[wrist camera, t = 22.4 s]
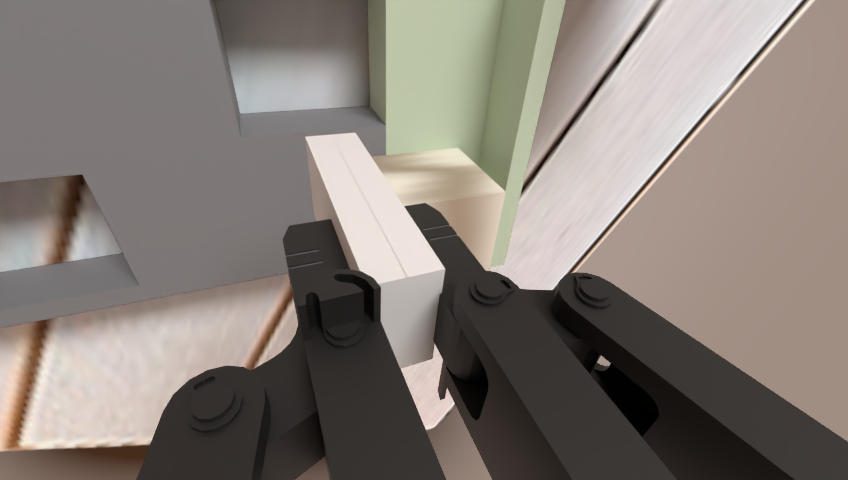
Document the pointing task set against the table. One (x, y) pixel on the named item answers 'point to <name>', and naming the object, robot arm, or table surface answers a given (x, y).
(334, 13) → the table surface
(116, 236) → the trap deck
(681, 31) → the table surface
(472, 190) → the cream block
